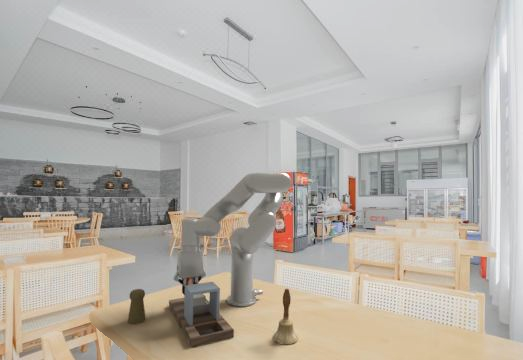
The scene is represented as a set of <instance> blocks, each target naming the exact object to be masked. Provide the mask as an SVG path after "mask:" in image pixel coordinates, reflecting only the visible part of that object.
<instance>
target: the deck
mask: <svg viewBox="0 0 523 360" xmlns="http://www.w3.org/2000/svg"><path fill="white" fill-rule="evenodd" d="M206 301H207V302H208V303H209V300H208V299H207V298H206ZM168 307H169V309H170V311H171V312H172V314H173V317H174V318H175V320H176V322H177V323H178V326H179V327H180V329H181V331H182V333H183V335H184V337H185V338H186V340H187V343H188V344H189V346H190V348H196V347H200V346H204V345H208V344H212V343H215V342H220V341H224V340H227V339H233V338H235V336H234V335H235V328H233V327H232V326H231V325H230V324H229V322H228V321H227V320H226V319H225V318H224V317H223V316H222V315H221V313H219V320H216V319H215V318H214V317H213V315H212V314H211V313H210V312H207V313H202V314H197V315H193V325H191V326H190V325H189V324H188V322H187V320H186V319H185V317H184V297H180V298H179V297H178V298H175V299H174V298H173V299H169V300H168Z"/></svg>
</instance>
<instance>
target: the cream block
mask: <svg viewBox="0 0 523 360" xmlns="http://www.w3.org/2000/svg"><path fill="white" fill-rule="evenodd" d="M206 299H207V297H206V295H205V293H204V294H198V295H193V306H197V305H203V304H206ZM196 315H197V314H196Z"/></svg>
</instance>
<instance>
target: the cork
mask: <svg viewBox="0 0 523 360" xmlns="http://www.w3.org/2000/svg"><path fill="white" fill-rule="evenodd" d="M145 297H146V292H145V290H144V289H143V288H136V289H132V290H131V291H130V293H129V299H130V306H129V310H128V311H129V312H128V318H127V323H128V324H130V325H138V324H142V323H143V322H146V311H145V304H144V298H145Z"/></svg>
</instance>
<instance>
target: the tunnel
mask: <svg viewBox="0 0 523 360" xmlns="http://www.w3.org/2000/svg"><path fill="white" fill-rule="evenodd" d="M220 290H221V288H220V286H219V285H217V284H216V283H215V282H214V281H206V282H198V284H192V285H185V295H184V297H183V298H184V317H185V319H186V320H187V322H188V324H189V325H190V326H191V325H193V295H198V294H204V295H205V294H209V300H208V301H209V312H210V313H211V314H212V315H213V317H214V318H215V319H216V320H219V314H220V302H221V301H220V296H221V295H220V293H221V291H220Z"/></svg>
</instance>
